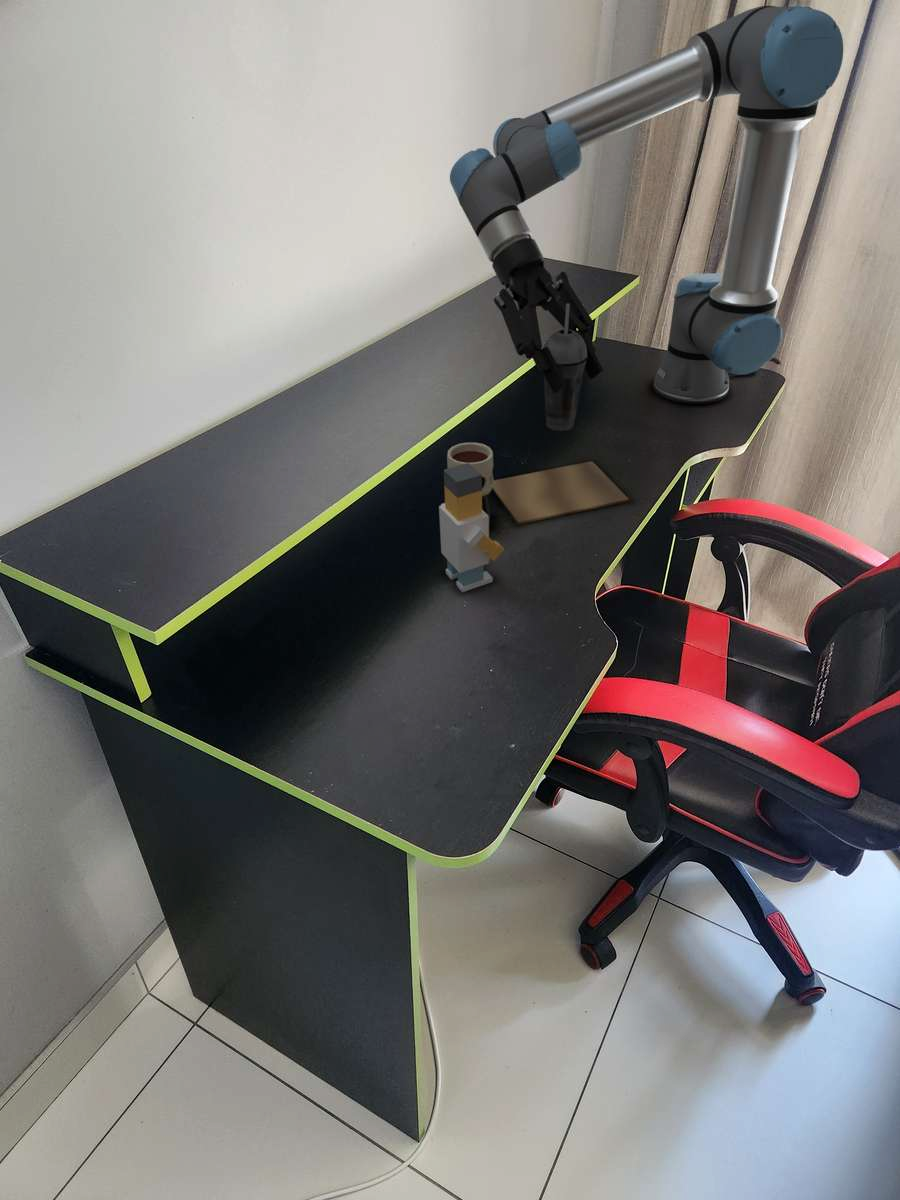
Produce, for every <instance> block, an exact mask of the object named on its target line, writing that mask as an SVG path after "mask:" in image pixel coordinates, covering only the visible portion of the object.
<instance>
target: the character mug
mask: <svg viewBox="0 0 900 1200" xmlns="http://www.w3.org/2000/svg"><path fill="white" fill-rule="evenodd" d="M446 463H447V469H449V468H452V467H456V466H459V465H463V464H466V463H469V464H470V465H471V466H472V467H473V468H475V469H476V470H477V471H478V472H479V473H480V474H481V475H482V510H483V511H484V512H485V513H486V514H487V515H488V516H489V525H490V524H491V520H492V519H491V509H490V504H489V497H488V495H489V494H490V493H491V492H492V490H493V489H492V487H493V482H494V474H493V468H494V451H493V450H492V449H491V447H490V446H488V445H486V444H484V443H479V442H463V443H462V442H461V443H458V444H456V445H453V446H451V447H450V448H449V449H448V450H447V455H446Z"/></svg>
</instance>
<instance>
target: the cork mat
mask: <svg viewBox="0 0 900 1200" xmlns="http://www.w3.org/2000/svg"><path fill="white" fill-rule="evenodd" d="M493 481H494V482H493V487H492V489H491V490H492V491H493V492H494V493H495V495H496V496H497V498H498V499H499V500H500V502H501V503H502V505H503V506H504V507H505V508H506V510H507V511H508V513H509V514H510V516H511V518H513V520H514V521H515V522H516V524H517V526H518V525H523V524H529V523H533V522H538V521H543V520H547V519H552V518H556V517H562V516H566V515H571V514H576V513H580V512H585V511H590V510H595V509H599V508H604V507H609V506H613V505H618V504H624V503H627V502H629V500H630V499H629V497H628V496H626V494H625V493H624V492H623V491H622V490H620V488H618V486H617V485H616V484H615V482H613V481H612V479H610V478H609V477H608V476H607V475H606V474H605V473H604V472H603V471H602V470H601V469H600V468H599V467H598V466H597V465H596V463H595V462H593V461H592V460H591V461H585V462H581V463H575V464H570V465H565V466H560V467H555V468H550V469H544V470H540V471H535V472H530V473H525V474H520V475H514V476H510V477H505V478H499V479H493Z"/></svg>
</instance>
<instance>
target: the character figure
mask: <svg viewBox="0 0 900 1200" xmlns="http://www.w3.org/2000/svg"><path fill="white" fill-rule="evenodd" d="M443 483H444V484H443V486H444V502H443V503H441V504H440V505H439V506H438V513H439V514H438V515H439V533H440V534H439V535H440V553H441V554H442V555H443V556H444V558H445V559H446V565H447V568H445V574H446V575H447V576H448V578H449V579H450V580H451V581H452V580H456V579H457V580H456V581H455V583H456V587H457V588H458V589H459V591H461V593H465V592H467V591H470V590H473V589H475V588H476V589H477V588H479V587H481V586H484V585H487V584H490V583H493V582H494V581H493V580H494V579H493V576H492V575H491V574H490V573H489V572H488V571H487V570H485V571H484V566H485V565H488V564H489V563H490V560H491V561H493V562H495V561H496V560H497V558H499V557H500V555H502V553H503V552H504V551H505V547H504V546H503V545H502V544H501V543H499V542H498V541H496V539H495V540H492V539H491V538H490V524H489V516H488V515H487V514H486V513H485V512H484V511H483V510H482V475H481V474H480V473H479V472H478V471H477V470H476V469H475V468H473V467H472V466H471V465H470V464H469V463H466V464H463V465H459V466H456V467H452V468H449V469H448V468H445V469H443Z"/></svg>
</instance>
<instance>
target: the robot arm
mask: <svg viewBox="0 0 900 1200" xmlns="http://www.w3.org/2000/svg"><path fill="white" fill-rule="evenodd" d="M843 58H844V39H843V34H842V32H841V29H840V27H839V26H838V24H837V22H836V20H834V18H833V17H832V16H831V15H829V14H828V13H827V12H824V11H822V10H819V9H816V8H812V7H811V6H801V5H798V6H775V5H761V6H757V7H753V8H751V9H747V10H745V11H743V12H741V13H738V14H736V15H734V16H731V17H729V18H727V19H725V20H724V21H722V22H719V23H717V24H715V25H713V26H711V27H709V28H707V29H705V30H703V31H701V32H699V33H698V32H697V33H696V34H694V35H692V36H690V38H688V40H687V43H686V45H685V46H684V47H682V48H680V49H677V50H676V51H673V52H670V53H669V54H666V55H663V56H662V57H660V58H657V59H655V60H653V61H651V62H649V63H646V64H644V65H641V66H639V67H637V68H635V69H633V70H631V71H628V72H626V73H623V74H621V75H619V76H617V77H615V78H612V79H610V80H608V81H605V82H603V83H601V84H599V85H596V86H594V87H592V88H590V89H587V90H584V91H583V92H581V93H578V94H576V95H574V96H571V97H568V98H567V99H564V100H563V101H560V102H558V103H556V104H553V105H551V106H549V107H546V108H544V109H543V110H540V111H538V112H535V113H533V114H530V115H528V116H526V117H524V118H522V117H513V118H512V117H511V118H509V119H506V120H505V121H503V122H501V124H500V125H499V126H498V128H497V129H496V131H495V133H494V136H493V141H492V150H493V154H494V155H493V154H491V152H490V151H489V149H487V148H484V147H479V148H476V149H475V150H470V151H469V150H468V151H467V152H466V153H464V154H463V155H462V156H460V158H459V159H457V160H456V162H455V163H454V164H453V166H452V168H451V169H450V172H449V183H450V185H451V187H452V189H453V191H454V194H455V196H456V198H457V200H458V203H459V205H460V207H461V209H462V211H463V213H464V215H465V217H466V218H467V220H468V222H469V224H470V226H471V227H472V230H473V232H474V233H475V235H476V237H477V239H478V241H479V243H480V245H481V247H482V249H483V251H484V253H485V255H486V257H487V260H488V261H489V262H490V263H492V264H491V267H492V269H493V271H494V273H495V275H496V277H497V279H498V281H499V283H500V284H501V285H502V286H504V288H501V290H500V291H499V292H498V293H497V294H496V296H495V297H494V298H493V302H494V304H495V305H496V307H497V308H498V309H499V311H500V312H501V315H502V317H503V321H504V322H505V323H504V324H505V325H506V328H507V330H508V331H507V332H508V334H509V335H510V338H511V341H512V344H513V346H514V348H515V351H516V353H517V355H518V356H520V357H522V356H525V358H526V359H529V360H530V359H532V360H533V362H534V364H535V366H536V368H537V370H538V372H539V373H540V374H541V375H543V376H544V375H545V377H546V379H547V381H548V383H549V385H550V387H551V389H552V391H553V393H554V394H555V393H557V392H559V391H560V390H561V389H562V388H563V387H565V386H566V385H567V384H566V382H565V380H564V378H563V376H562V374H561V372H560V370H559V368H558V366H557V364H556V362H555V360H554V358H553V356H552V354H551V352H550V350H549V348H548V346H547V347H544V346H543V343H542V336H541V331H540V326H539V325H540V324H539V319H538V313H537V307H540V308H542V310H544V311H546V312H547V311H548V312H549V313H550V314H551V316H552V317H553V318H554V319H555V320H556V321H557V322H558V324H560V325H561V326H562V328H563V329H565V314H566V304H570V306H569V321H568V329H569V330H573V331H575V332H577V333H578V334H579V335H580V336H581V337H582V338H583V340H584V342H585V344H586V347H587V355H588V359H587V361H586V365H585V368H584V371H585V372H586V374H587V376H588V378H589V380H594V379H595V378H596V377H598V376H599V375H600V374H601V373H603V371H604V369H603V366H602V365H601V363H600V361H599V359H598V357H597V355H596V347H595V346H594V344H593V342H592V340H591V337H590V336H589V331H590V330H591V329H592V328H593V327H594V325H595V322H594V320H593V318H592V317H591V316H590V314H589V313H588V311H587V309H586V308H585V306H584V305H583V303H582V301H581V300H580V299H579V297H578V295H577V294H576V292H575V291H574V288H573V287H572V286H571V284H570V281H569V278H568V275H567V272H565V271H561V272H560V273H559V274H551V272H549V271H548V270H547V269H546V268H545V261H544V260H545V259H544V258H545V257H544V256H543V253H542V251H541V249H540V247H539V246H538V243H537V242H536V240H535V239H534V238H532V237H533V234H532V231H531V230H530V227H529V226H528V224H527V222H526V220H525V218H524V216H523V215H522V212H521V210H520V208H519V207H518V206H519V205H520V204H523V203H524V202H526V201H528V200H530V199H531V198H533V197H535V196H537V195H538V194H540V193H542V192H543V191H545V190H547V189H549V188H551V187H552V186H554V185H556V184H558V183H559V182H562V181H565V180H566V178H568V177H569V176H571V175H572V174H573V173H575V172H577V171H579V169H580V168H581V166H582V164H583V155H582V149H583V148H584V147H587V146H589V145H591V144H595V143H597V142H599V141H601V140H604V139H606V138H608V137H610V136H612V135H615V134H617V133H619V132H622V131H624V130H626V129H629V128H631V127H633V126H636V125H638V124H640V123H643V122H645V121H647V120H649V119H650V120H651V119H652V118H654V117H656V116H657V117H658V116H659V115H661V114H664V113H665V112H668V111H670V110H673V109H675V108H677V107H680V106H682V105H684V104H687V103H689V102H691V101H693V100H697V101H698V102H700V103H706V102H708V101H710V100H712V99H715V98H718V97H722V96H728V95H739V97H738V104H737V105H738V106H737V112H736V118H737V119H738V120H739V122H740V123H741V125H742V126H743V128H744V131H743V137H742V144H741V151H740V157H739V162H738V170H737V173H736V174H737V176H736V182H735V187H734V194H733V200H732V207H731V213H730V220H729V226H728V231H727V239H726V244H725V251H724V258H723V263H722V270H721V273H716V272H715V273H696V274H690V275H686V276H684V277H682V278H680V280H678V282H677V285H676V289H675V292H674V296H673V298H674V300H673V306H672V315H671V320H670V321H671V322H670V329H669V335H668V343H667V351H666V353H665V355H664V357H663V359H662V361H661V363H660V366H659V368H658V370H657V372H656V374H655V376H654V379H653V385H652V386H653V387H652V389H653V391H654V392H655V393H656V394H657V395H658V396H659V397H661V398H663V399H665V400H667V401H671V402H674V403H678V404H683V405H684V404H685V405H707V404H713V403H717V402H719V401H722V400H723V399H725V398H726V397H727V395H728V394H729V390H730V389H729V388H730V378H729V376H734V375H735V376H741V375H742V376H744V375H746V376H747V375H755V374H756V372H757V371H758V370H759V369H762V367H764V365H765V364H766V363H768V362H772V363H774V364H776V365H782V363H781V361H780V360H779V359H778V358H777V357H774V356H776V354H777V352H778V350H779V349H780V346H781V344H782V340H783V328H782V326H781V324H780V321H779V320H778V318H777V317H775V314H776V310H777V309H776V308H777V304H778V298H779V293H778V292H777V290H776V289H775V288H774V286H773V285H772V283H773V278H774V272H775V267H776V262H777V257H778V252H779V248H780V243H781V238H782V233H783V227H784V223H785V217H786V212H787V208H788V202H789V197H790V191H791V188H792V184H793V183H792V182H793V177H794V172H795V167H796V161H797V157H798V153H799V147H800V143H801V137H802V131H803V129H804V127H805V126H806V125H807V124H808V123H809V122H810V121H812V119H814V118H815V117H816V114H817V110H818V105H819V100H821V99H822V98H823V97H825V95H826V94H827V91H828V90H829V89H830V88H832V87H833V85H834V83H835V82H836V80H837V78H838V76H839V74H840V71H841V68H842V63H843ZM516 303H517V304H516ZM543 347H544V348H543Z"/></svg>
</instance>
